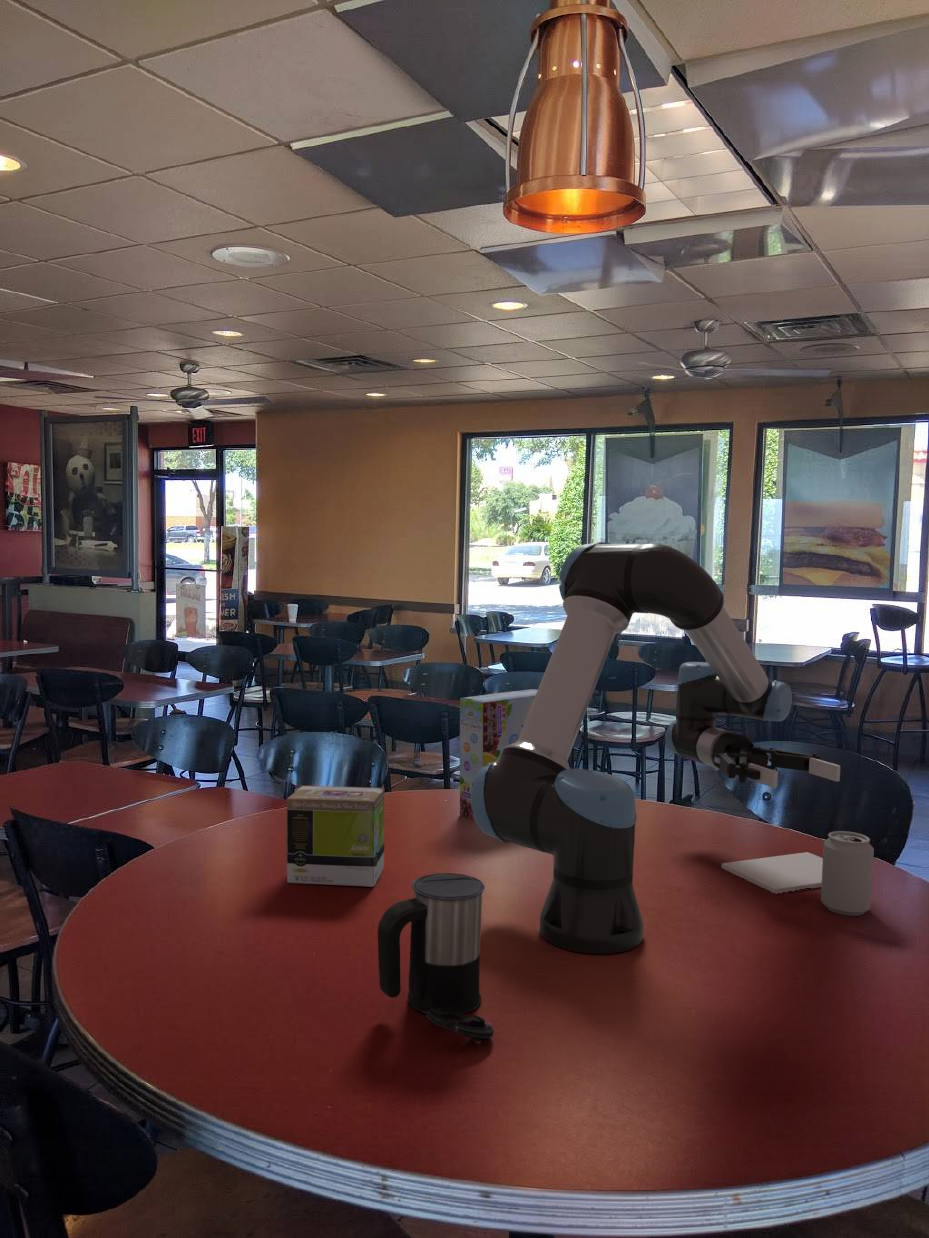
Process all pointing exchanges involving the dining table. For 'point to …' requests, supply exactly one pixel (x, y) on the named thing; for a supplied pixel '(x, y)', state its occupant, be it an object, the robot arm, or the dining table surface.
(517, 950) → the dining table surface
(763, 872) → the placemat
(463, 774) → the snack box
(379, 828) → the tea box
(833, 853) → the can
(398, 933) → the milk frother
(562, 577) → the robot arm
